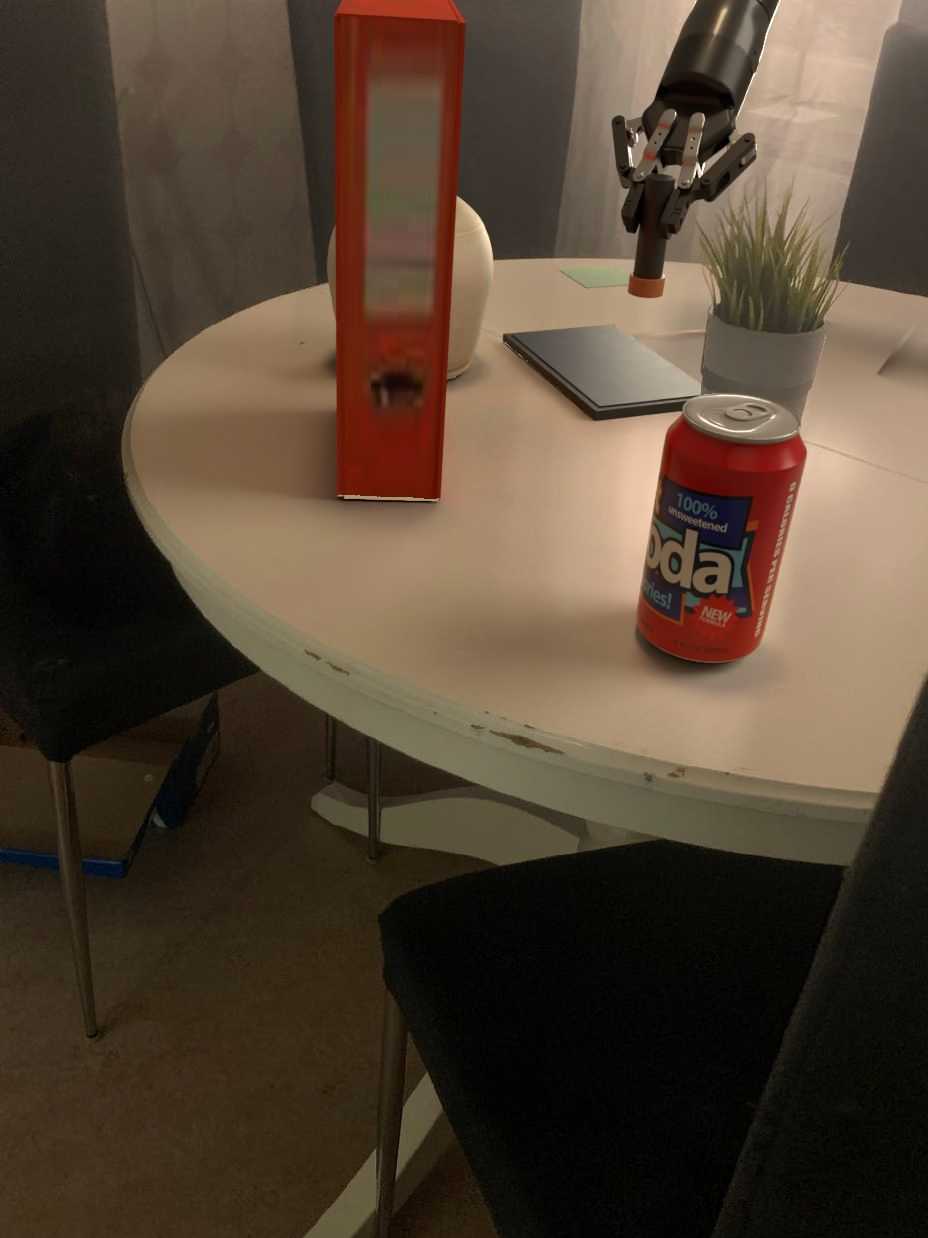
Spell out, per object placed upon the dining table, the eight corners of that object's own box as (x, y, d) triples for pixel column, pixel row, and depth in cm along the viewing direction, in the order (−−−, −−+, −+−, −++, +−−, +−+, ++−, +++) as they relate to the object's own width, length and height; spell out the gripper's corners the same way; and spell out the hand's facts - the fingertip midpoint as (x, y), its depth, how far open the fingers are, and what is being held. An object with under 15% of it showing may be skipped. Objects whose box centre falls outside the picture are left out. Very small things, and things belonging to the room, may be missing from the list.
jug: (435, 406, 97) (446, 100, 83) (296, 368, 103) (285, 77, 89) (514, 358, 108) (535, 81, 94) (385, 326, 114) (387, 62, 100)
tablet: (613, 332, 116) (614, 323, 116) (719, 405, 100) (721, 395, 100) (502, 341, 112) (502, 332, 111) (594, 420, 96) (596, 410, 95)
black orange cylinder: (651, 286, 100) (667, 172, 95) (669, 296, 98) (687, 180, 92) (621, 288, 99) (635, 173, 94) (638, 299, 97) (654, 181, 91)
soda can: (786, 649, 67) (844, 424, 59) (697, 689, 63) (746, 454, 55) (695, 591, 72) (737, 377, 64) (608, 625, 68) (640, 402, 60)
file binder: (436, 411, 96) (452, -3, 78) (444, 502, 81) (466, 19, 64) (345, 409, 95) (340, -9, 77) (337, 500, 81) (328, 12, 63)
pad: (613, 269, 136) (614, 264, 136) (644, 288, 130) (645, 283, 130) (556, 273, 134) (557, 268, 133) (585, 292, 128) (586, 287, 127)
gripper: (633, 22, 95) (563, 192, 93) (790, 37, 90) (720, 217, 88) (646, 82, 102) (581, 242, 100) (792, 100, 97) (727, 269, 94)
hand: (646, 230), depth 94 cm, fingers closed on black orange cylinder, 2 cm apart
